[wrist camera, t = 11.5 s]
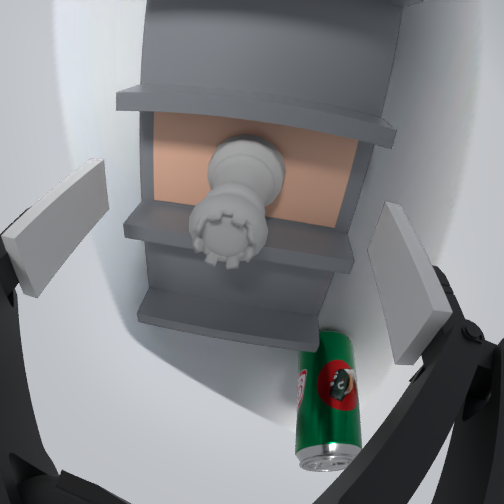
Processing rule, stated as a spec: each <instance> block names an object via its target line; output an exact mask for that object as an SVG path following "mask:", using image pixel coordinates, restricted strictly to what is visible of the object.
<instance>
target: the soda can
mask: <svg viewBox="0 0 504 504" xmlns="http://www.w3.org/2000/svg"><path fill="white" fill-rule="evenodd" d="M360 426H361V425H360V412H359V400H358V390H357V380H356V370H355V362H354V353H353V345H352V342H351V340H350V339H349V338H348V337H347V336H346V335H344V334H342V333H340V332H338V331H333V330H323V331H319V347H318V349H317V351H316V352H308V351H300V350H299V351H298V396H297V424H296V446H295V447H296V448H295V455H296V456H297V457H298V459H299V461H300V464H299V465H300V467H301V468H302V469H305V470H308V471H315V472H316V471H317V472H329V471H338V470H342V469H346V468H347V467H348V465H349V464H350V463H351V462H352V461H353V460H354V459H355V457H356V456H357V455H358V454H359V453H360V451H361V450H362V439H361V427H360Z"/></svg>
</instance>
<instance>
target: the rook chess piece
mask: <svg viewBox="0 0 504 504" xmlns="http://www.w3.org/2000/svg"><path fill="white" fill-rule="evenodd" d="M285 173H286V168H285V164H284V160H283V156H282V155H281V153H280V152H279V151H278V149H277V148H276V147H275V146H274V144H272V143H271V142H269V141H267V140H266V139H264V138H262V137H260V136H255V135H249V134H242V135H238V136H233V137H229V138H228V139H227V140H225V141H224V142H223V143H221V144H220V145H218V146H217V148H216V150H215V152H214V153H213V155H212V157H211V160H210V162H209V164H208V176H207V178H208V182H209V185H210V188H211V191H209V192H208V194H207V196H206V198H205V199H203V200H202V201H200V202H199V203H198V204H196V205H195V207H194V209H193V211H192V213H191V214H190V216H189V232H190V234H191V237H192V239H193V241H192V246H193V248H194V251H195V253H198V252H201V251H202V252H203V253H204V254H206V258H205V260H204V262H205V263H207V264H209V265H211V266H213V267H215V265H216V263H217V261H222V262H226V268H227V270H228V269H236V268H239V263H240V261H246V262H248V263H249V261H250V260H251V259H252V257H253V256H255V255H257V254H258V253H259V252H260V250H261V249H262V248H263V246H264V245H265V244H266V240H267V235H268V227H267V223H266V219H265V208H264V207H265V206H267V205H269V204H270V203H272V202H273V201H274V200H275V198H276V197H277V195H278V194H279V193H280V191H281V190H282V186H283V182H284V177H285Z"/></svg>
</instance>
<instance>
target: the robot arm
mask: <svg viewBox="0 0 504 504" xmlns="http://www.w3.org/2000/svg"><path fill="white" fill-rule="evenodd" d="M108 210H109V204H108V196H107V187H106V177H105V167H104V159H90V160H88V161H87V162H86V163H84V164H83V165H82V166H80V167H79V168H78V169H77V170H75V171H74V172H73V173H71V174H70V175H69V176H68V177H66V178H65V179H64V180H63V181H61V182H60V183H59V184H58V185H56V186H55V187H54V188H53V189H52V190H50V191H49V192H48V193H47V194H46V195H45V196H43V197H42V198H41V199H40V200H39V201H38V202H36V203H35V204H34V205H33V206H31V207H30V208H28V209H26V210H25V211H24V212H23V213H22V214H21V215H20V216H19V217H18V218H17V219H15V220H14V222H13V223H11V224H10V225H9V226H8V227H7V228H6V229H5V230H4V231H3V232H2V233H1V234H0V504H131V503H129V502H127V501H126V500H124V499H122V498H120V497H118V496H116V495H115V494H113V493H111V492H109V491H107V490H106V489H104V488H102V487H100V486H99V485H96V484H94V483H91V482H89V481H86V480H84V479H82V478H79V477H77V476H74V475H72V474H70V473H68V472H66V471H63V470H62V471H61V474H60V475H58V472H57V470H56V468H55V466H54V464H53V462H52V460H51V459H50V457H49V456H48V454H47V453H46V451H45V449H44V447H43V444H42V441H41V438H40V434H39V431H38V427H37V423H36V419H35V415H34V411H33V407H32V403H31V398H30V393H29V389H28V383H27V378H26V372H25V366H24V360H23V352H22V345H21V337H20V327H19V315H18V301H17V293H16V291H15V287H16V286H17V284H18V283H20V286H21V288H22V291H23V293H24V294H26V295H29V296H32V297H35V298H38V297H39V295H40V294H41V293H42V291H43V290H44V288H45V287H46V286H47V284H48V283H49V282H50V280H51V279H52V278H53V276H54V275H55V274H56V272H57V271H58V270H59V269H60V267H61V266H62V265H63V263H64V262H65V261H66V259H67V258H68V257H69V255H70V254H71V253H72V252H73V251H74V250H75V248H76V247H77V246H78V245H79V243H80V242H81V241H82V240H83V238H84V237H85V236H86V235H87V234H88V233H89V231H90V230H91V229H92V228H93V227H94V226H95V224H96V223H97V222H98V221H99V220H100V219H101V218H102V216H103V215H104V214H105V213H106V212H107V211H108ZM367 251H368V255H369V258H370V262H371V265H372V269H373V272H374V276H375V280H376V284H377V287H378V291H379V295H380V299H381V303H382V307H383V311H384V316H385V320H386V324H387V329H388V333H389V338H390V342H391V347H392V352H393V357H394V362H395V364H398V365H414V363H415V362H416V361H417V360H418V358H419V357H420V356H421V355H422V359H423V363H424V364H423V365H422V367H421V368H420V369H419V370H418V371H417V372H416V373H415V375H414V376H413V377H412V378H411V379H410V380H409V381H410V382H411V383H410V385H409V386H408V388H407V389H406V391H405V392H404V394H403V395H402V397H401V398H400V400H399V401H398V402H397V404H396V405H395V407H394V408H393V410H392V411H391V413H390V414H389V415H388V417H387V418H386V419H385V421H384V422H383V424H382V425H381V426H380V427H379V429H378V430H377V431H376V433H375V434H374V435H373V436H372V438H371V439H370V440H369V442H368V443H367V444H366V445H365V447H364V448H363V449H362V450H361V451H360V453H359V454H358V455H357V456H356V457H355V459H354V460H353V461H352V462H351V463H350V464H349V465H348V467H347V468H346V469H345V470H344V471H343V472H342V473H341V474H340V476H339V477H338V478H337V479H336V480H335V481H334V482H333V483H332V484H331V485H330V486H329V487H328V488H327V489H326V491H325V492H324V493H323V494H322V495H321V496H320V497H319V498H318V499H317V500H316V501H315V502H314V503H313V504H407V503H408V502H409V500H410V499H411V497H412V496H413V494H414V493H415V491H416V490H417V488H418V486H419V485H420V483H421V482H422V480H423V479H424V477H425V475H426V474H427V472H428V470H429V469H430V467H431V465H432V463H433V462H434V460H435V458H436V456H437V455H438V453H439V451H440V449H441V447H442V445H443V443H444V442H445V440H446V438H447V436H448V434H449V432H450V430H451V428H452V426H453V424H454V427H453V431H452V436H451V440H450V444H449V448H448V452H447V456H446V459H445V463H444V466H443V470H442V473H441V477H440V480H439V483H438V486H437V489H436V492H435V495H434V498H433V501H432V503H431V504H504V338H503V339H502V340H501V342H500V343H499V344H498V345H496V344H493V343H491V342H488V341H486V340H485V338H484V335H483V332H482V331H481V329H480V328H479V327H478V326H477V325H476V324H475V323H473V322H471V321H470V320H466V319H465V318H464V315H463V313H462V311H461V308H460V306H459V304H458V301H457V299H456V297H455V295H453V290H452V288H451V287H450V284H449V282H448V280H447V278H446V276H445V275H444V273H443V272H442V271H441V270H440V269H439V268H438V267H437V266H432V264H431V262H430V260H429V258H428V256H427V254H426V252H425V250H424V248H423V246H422V244H421V242H420V240H419V238H418V237H417V235H416V233H415V231H414V229H413V227H412V225H411V223H410V222H409V220H408V218H407V216H406V214H405V213H404V211H403V209H402V207H401V205H399V204H395V203H391V202H387V201H385V204H384V206H383V209H382V212H381V215H380V218H379V220H378V223H377V226H376V228H375V231H374V234H373V236H372V239H371V241H370V244H369V247H368V249H367ZM454 421H455V422H454Z"/></svg>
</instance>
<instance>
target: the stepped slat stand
mask: <svg viewBox="0 0 504 504" xmlns="http://www.w3.org/2000/svg"><path fill="white" fill-rule="evenodd" d="M419 2H423V0H147V5H146V14H145V23H144V34H143V47H142V62H141V82H140V85H137V86H134V87H131V88H128V89H125V90H122V91H119V92H116V111H140V178H141V199H142V202H141V203H140V204H139V205H138V206H137V208H136V209H135V210H134V211H133V212H132V214H131V215H130V216H129V217H128V219H127V220H126V221H125V222H124V224H123V227H124V235H125V238H130V239H136V240H142V241H145V252H146V262H147V271H148V280H149V289H148V291H147V293H146V295H145V297H144V299H143V302H142V304H141V306H140V308H139V310H138V312H137V317H138V322H142V323H146V324H150V325H155V326H159V327H164V328H169V329H173V330H178V331H183V332H188V333H193V334H198V335H204V336H209V337H214V338H220V339H226V340H232V341H237V342H244V343H250V344H256V345H263V346H270V347H277V348H284V349H292V350H300V351H308V352H316V351H317V349H318V347H319V326H318V314H319V312H320V309H321V307H322V304H323V301H324V299H325V296H326V293H327V291H328V288H329V285H330V283H331V280H332V277H333V274H334V272H339V273H346V274H350V271H351V269H352V266H353V263H354V258H353V254H352V250H351V246H350V242H349V238H348V230H349V227H350V224H351V221H352V218H353V215H354V212H355V209H356V205H357V202H358V199H359V196H360V192H361V189H362V185H363V182H364V179H365V175H366V172H367V168H368V165H369V161H370V157H371V154H372V150H373V146H374V144H375V145H379V146H383V147H387V148H390V149H392V146H393V142H394V139H395V135H396V132H397V130H396V129H395V128H393V127H392V126H391V125H390V124H388V123H387V122H386V121H385V120H383V119H382V118H381V115H382V111H383V106H384V102H385V98H386V93H387V89H388V84H389V80H390V75H391V70H392V65H393V60H394V55H395V50H396V45H397V39H398V33H399V28H400V22H401V15H402V9H403V7H406V6H409V5H412V4H416V3H419ZM242 134H249V135H255V136H260V137H262V138H264V139H266V140H267V141H269V142H271V143H272V144H274V146H275V147H276V148H277V149H278V151H279V152H280V153H281V155H282V156H283V160H284V164H285V168H286V173H285V177H284V182H283V186H282V190H281V191H280V193H279V194H278V195H277V197H276V198H275V200H274V201H273V202H272V203H270V204H269V205H267V206H265V207H264V208H265V219H266V223H267V227H268V235H267V240H266V244H265V245H264V246H263V248H262V249H261V250H260V252H259V253H258V254H257V255H255V256H253V257H252V259H251V260H250V261H249V263H248V262H246V261H240V263H239V268H236V269H228V270H227V268H226V262H222V261H217V263H216V265H215V267H213V266H211V265H209V264H207V263H205V262H204V260H205V258H206V254H204V253H203V252H202V251H201V252H198V253H195V251H194V248H193V246H192V241H193V239H192V237H191V234H190V232H189V216H190V214H191V213H192V211H193V209H194V207H195V205H196V204H198V203H199V202H200V201H202V200H203V199H205V198H206V196H207V194H208V192H209V191H211V188H210V185H209V182H208V178H207V176H208V164H209V162H210V160H211V157H212V155H213V153H214V152H215V150H216V148H217V146H218V145H220V144H221V143H223V142H224V141H225V140H227V139H228V138H229V137H233V136H238V135H242Z"/></svg>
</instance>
